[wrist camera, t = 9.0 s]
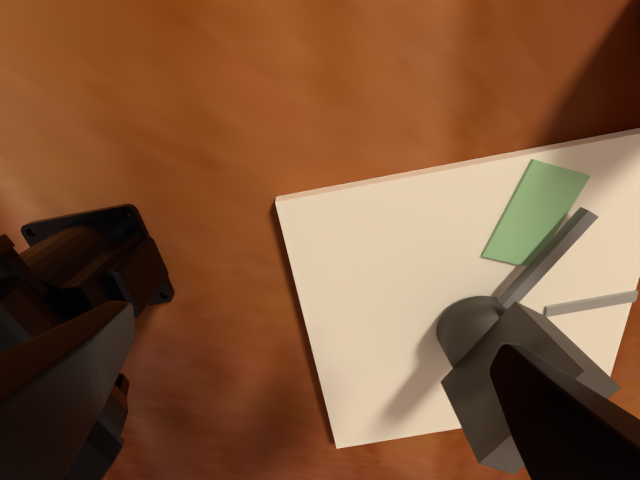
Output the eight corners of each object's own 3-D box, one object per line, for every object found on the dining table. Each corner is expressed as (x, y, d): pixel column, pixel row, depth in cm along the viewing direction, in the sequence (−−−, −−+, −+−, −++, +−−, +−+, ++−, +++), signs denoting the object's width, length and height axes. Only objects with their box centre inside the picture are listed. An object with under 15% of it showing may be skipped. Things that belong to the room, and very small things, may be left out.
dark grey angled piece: (468, 372, 24) (531, 479, 17) (413, 350, 23) (458, 457, 16) (608, 225, 19) (766, 297, 13) (548, 188, 18) (688, 245, 12)
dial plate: (335, 436, 28) (337, 451, 27) (276, 196, 19) (274, 203, 18) (592, 394, 28) (604, 406, 27) (664, 123, 18) (688, 125, 17)
